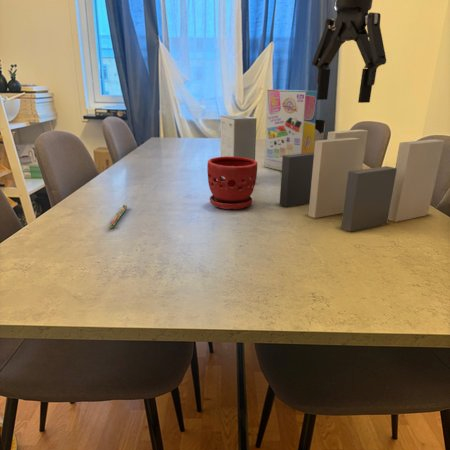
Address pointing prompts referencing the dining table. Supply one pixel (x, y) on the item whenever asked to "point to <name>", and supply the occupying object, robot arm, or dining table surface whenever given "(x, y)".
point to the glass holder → (319, 131)
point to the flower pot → (231, 181)
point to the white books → (406, 173)
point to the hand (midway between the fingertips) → (341, 101)
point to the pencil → (117, 216)
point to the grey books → (355, 191)
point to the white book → (331, 175)
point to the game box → (289, 124)
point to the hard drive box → (238, 136)
